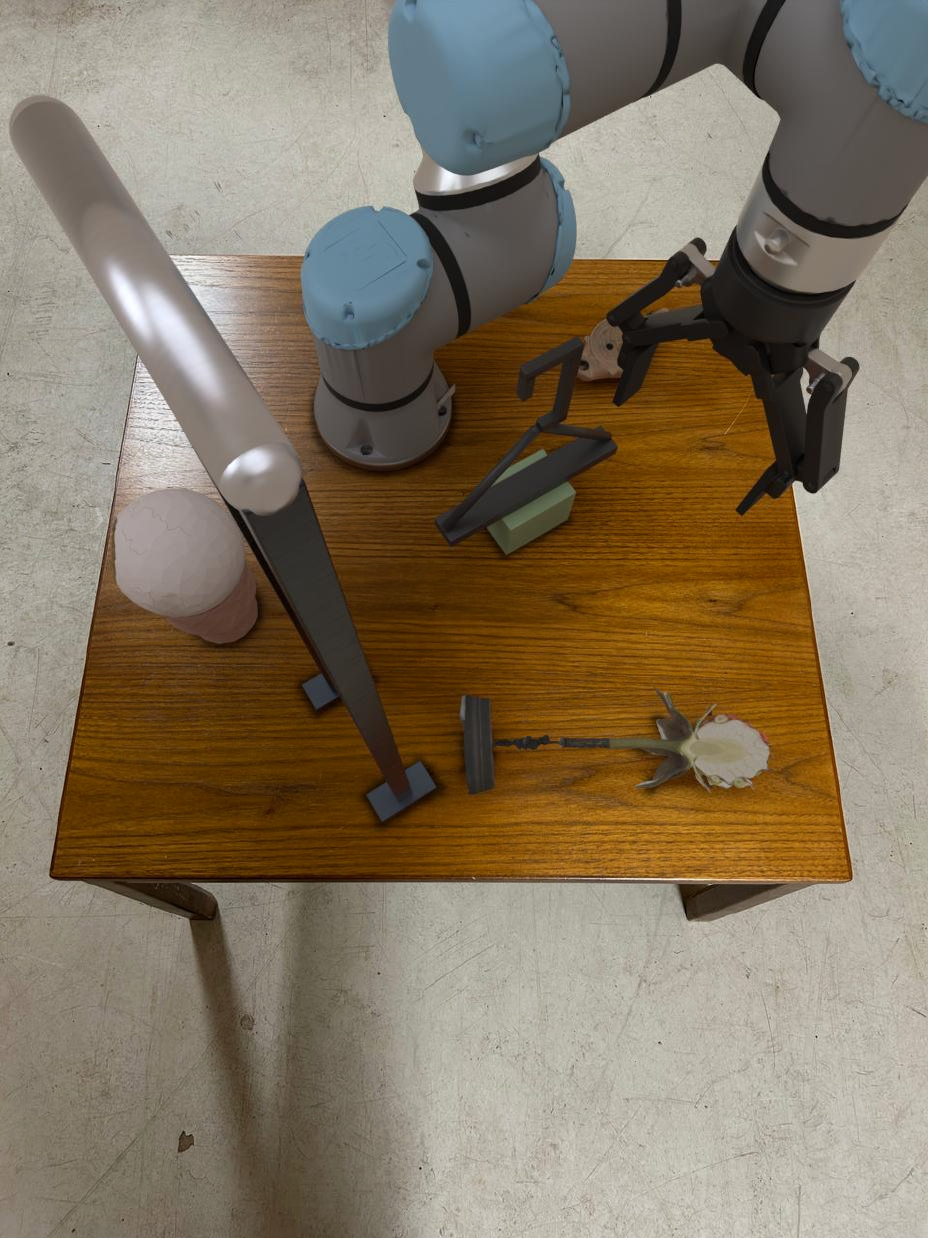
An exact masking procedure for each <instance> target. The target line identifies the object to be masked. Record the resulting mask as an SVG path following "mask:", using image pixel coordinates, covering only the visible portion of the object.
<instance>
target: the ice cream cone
mask: <svg viewBox="0 0 928 1238" xmlns="http://www.w3.org/2000/svg"><path fill="white" fill-rule="evenodd" d="M111 533H112V535H111V540H110V542H111V543H110V546H111V552H110V553H111V563H110V566H111V567H112V577H113V580H114V582H115V584H116V586H117V587H118V589H119V590H120V592H121V593H122V594H123V595H125V596H126V597H127V598H128V599H129V600H130V601H131V602H133V603H134V604H135V605H137V606H139V607H141V608H142V609H144V610H146V611H149V612H151V613H153V614H155V615H158V616H162V617H164V618H165V619H166V620H167V621H168V623H169V624H171V626H174V628H176V629H178V630H180V631H182V632H184V633H187V634H189V635H193V636H198V637H200V638H202V640H205V641H207V642H211V643H214V644H218V645H221V644H228V643H234V642H236V641H238V640H239V639H242V638H244V637H245V636H246V635H247V634H248V632H249V631H250V630H251V629H252V628H253V627H254V626H255V624H256V621H257V619H258V616H259V613H258V602H257V599H256V595H257V585H256V579H255V575H254V573H253V569H252V568H251V566H250V564H249V563H248V560H247V559H246V546H245V541H244V540H245V539H244V537H243V535H242V533H241V532H240V530H239V528H238V526H237V525H236V523H235V521H234V519H233V517H232V516H231V514H230V512H229V511H228V509H227V508H225V507H224V506H223V505H222V504H221V503H219V502H218V501H217V500H216V499H214V498H212V497H210V496H208V495H207V494H205V493H202V492H199V491H196V490H192V489H189V488H188V489H186V488H162V489H157V490H154V491H151V492H147V493H146V494H145V493H144V494H143V495H140V496H139V497H138V498H136V499H135V500H133V501H131V502H130V503H129V504H128V505H127V506H125V507H124V508H123V509H122V510H121V511H119V512H118V514H117V515H116V517H115V520H114V522H113V524H112V527H111Z"/></svg>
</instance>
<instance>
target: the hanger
mask: <svg viewBox="0 0 928 1238" xmlns="http://www.w3.org/2000/svg"><path fill="white" fill-rule="evenodd" d="M584 348H585V342H584V340H582V339H581V337H580V336H579V335H576V336H574V337H572V338H570V339H568V340H567V341H565V342H562V343H561V344H559V345H557V346H555V347H553V348H551V349H549V350H548V351H546V352H543V353H542V354H540V355H538V356H536V357H534V358H532V359H531V360H528V361H527V362H524V363H523V364H520V365H519V370H518V377H517V385H516V393H515V394H516V396H517V397H518V399H519V400H520V401H521V402H522V403H524V402H526V401H528V400H531V398H533V397H534V391H535V385H536V379H537V377H539V376H541V375H542V374H545V373H546V372H549V371H551V370H552V369H554V368H556V367H558V366H560V365H561V368H560V369H561V370H560V373H559V378H558V383H557V386H556V392H555V397H554V402H553V407H552V409H551V410H550V411H548V412H547V413H545V414H543V415H541V416H539V417H538V418H536V420H535V424H532V425H531V426H530V427H529V428H528V429H527V430H526V431H525V432H524V433H523V435H521V437H519V439H518V440H517V441H516V442H515V443H514V444H513V445H512V447H511V448H510V449H509V450H508V451H507V452H506V453H505V454H504V455H503V456H502V458H500V460H499V461H498V462H497V463H495V465H494V466H493V467H492V468H491V469H490V471H488V473H487V474H486V475H485V476H484V477H483V478H482V479H481V481H480V482H478V484H477V485H476V486H475V487H474V488H473V489H472V490H471V492H469V494H468V495H467V496H465V498H464V499H463V500H462V501H461V502H460V503H459V504H458V505H455V506H454V507H451V508H450V509H449V510H447V511H445V512H443V513H441V514H440V515H438V516H436V517H434V526H435V527H436V529H437V530H438V532H439V533H440V534H441V536H442V537H443V539H444V540H445V541H446V543H447V544H448V546H449V547H450V548H453V547H455V546H457V545H458V544H460V543H462V542H465V540H467V539H469V538H470V537H473V536H475V535H476V534H478V533H480V532H482V531H483V530H485V529H487V527H488V526H490V525H492V524H494V523H495V522H497V521H499V520H501V519H502V518H504V517H506V516H508V515H509V514H511V513H513V512H515V511H516V510H518V509H520V508H522V507H523V506H525V505H527V504H529V503H530V502H532V501H534V500H536V499H537V498H539V497H541V496H543V495H544V494H546V493H548V492H550V491H551V490H553V489H555V488H557V487H558V486H560V485H562V484H564V483H565V482H567V481H568V482H569V481H570V480H572V479H574V478H576V477H578V476H579V475H581V474H583V473H584V472H586V471H588V470H590V469H592V468H593V467H596V466H597V465H598V464H601V463H602V462H604V461H606V460H607V459H610V458H611V457H613V456H615V455H616V454H617V451H618V448H619V445H618V444H617V443H616V441H615V440H614V438H613V434H612V432H610V431H609V430H606V429H605V428H604V427H603V425H602V424H600V425H599V426H597V427H595V428H590V427H584V426H577V425H572V424H565V423H563V422H564V421H566V420H567V419H568V414H569V411H570V407H571V403H572V398H573V395H574V392H575V391H574V390H575V386H576V382H577V378H578V377H577V374H578V370H579V366H580V362H581V358H582V354H583V350H584ZM541 433H542V434H549V435H550V434H551V435H556V436H564V437H572V438H576V439H573V440H572V441H570V442H568V443H566V444H564V445H563V446H561V447H559V448H558V449H555V450H553V451H552V452H551V453H549V454H547V456H545V457H543V458H541V459H540V460H538V461H536V462H534V463H532V464H531V465H529V466H527V467H525V468H524V469H522V470H520V471H518V472H516V473H515V474H513V475H511V476H509V477H507V478H506V479H504V480H502V481H500V482H499V483H497V484H495V485H493V484H494V483H495V482H496V480H497V479H498V478H499V477H500V476H501V475H502V474H503V473H504V472H505V471H506V470H507V469H508V468H509V467H511V466H512V465H513V464H514V462H515V461H516V460H517V459H518V458H519V457H520V456H521V455H522V454H523V453H524V451H526V450H527V448H528V447H529V446H530V445H531V444H532V443H533V442H534V441H535V439H537V437H539V435H540V434H541ZM492 485H493V486H492Z"/></svg>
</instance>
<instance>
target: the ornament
mask: <svg viewBox="0 0 928 1238" xmlns="http://www.w3.org/2000/svg"><path fill="white" fill-rule="evenodd" d="M653 689H654V691H655V692H656V694H657V695H658V696H659V698H660V699H661V702H662V704H663V705H664V706H665V709H666V711H667V713H668V715H669V716H670V717H665V718H662V719H659V718H658V719H656V726H657V729H658V733H659V734H660V737H661V738H654V737H631V736H630V737H601V738H599V737H598V738H595V737H588V738H587V737H564V736H560V739H559V740H551V738H550V737H549V734H544V735H543V736H540V737H538V738H533V737H532V735H531V736H530V735H526V736H523V737H522V738H515V739H513V740H511V739H508V738H506V739H499V740H493V730H492V712H491V711H492V710H491V708H492V707H491V699H490V697H480V696H476V695H471V694H464V695H461V701H460V711H459V720H460V722H461V725H462V729H463V734H464V736H463V737H464V738H463V745H462V747H463V756H464V766H465V773H464V776H465V780H466V785H467V790H468V795H470V796H473V795H475V796H476V795H478V794H480V793H483V792H486V791H487V792H488V791H492V790H494V789H495V786H496V785H495V780H496V777H495V767H494V765H495V761H494V754H493V749H494V748H496V747H506V748H509V747H512V746H514V747H516V749H517V750H525V751H527V750H528V749H530V750H532V751H536V750H538V748H539V747H540V746H541V745H542V746H545V745H555V744H556V745H559V746H560V747H561V748H562V749H596V748H600V749H616V750H617V749H640V750H643V751H645V752H647V753H650V754H652V755H656V756H660V757H661V756H662V757H663V756H664V757H666V758H665V759H663V760H662V761H661V763H660V764H659V765H658V767H657V769H656V770H655V773H654V775H653V777H652V780H646V781H643V782H640V783H638V784H636V785H635V789H645V788H646V789H647V788H648V789H649V788H650V789H651V788H654V787H657V786H659V785H660V784H662V783H664V782H667V781H670V780H672V779H675V778H677V777H680V776H682V775H684V774H685V773H687V772H689V770H691V768H692V770H693V773H695V774H694V775H695V778H696V781H698V782H699V784H701V786H702V787H703V788H705V789H706V790H707V791H708V793H709V794H713V791H711V790H710V788H713V786H718V787H722V788H724V789H726V790H727V789H729V788H732V787H733V786H735V787H736V788H737V789H742V788H746V787H748V786H750V787H751V789H752V792H755V788H754V786H753V782H752V781H751V780H749V779H753V778H754V777H759V776H760V775H761V774H762V772H763V771H764V772H765V771H766V772H767V771H773V770H775V768H774V767H772V768H768V765H769V763H770V761H769V757H770V758H771V759H772V760H773V761H775V758H774V756H773V755H771V752H770V751H771V748H770V742H768V741H769V740H768V737H767V736H766V734H765V733H764V732H760V731H759V730H758V729H757V728H753V727H752V726H751V725H752V722H748V721H745V720H740V719H739V716H737V715H736V714H734V713H730V714H727V715H726V714H725V713H718V714H716V715H715V716H713V710H714V708H715V707H716V706H717V705H718V702H716V703H714V704H713V705H712V703H710V704H708V705H707V706H706V708H705V709H704V710H707V711H706V712H704V715H703V716H702V717H701V716H699V717H698V718H696V719H695V722H694V724H693V726H692V724H691V721H690V719H688V718H687V717H686V716H685V715H684V714H683V713H682V712H680V711H679V710H678V709H677V708H676V706H675V704H674V702H673V698H672V695H671V694H670V693H669V692H668V691H665V692H662V691H661V690H660V689H658V688H657V687H656V686H654V685H653ZM711 705H712V706H711ZM710 706H711V707H710ZM708 709H709V710H708ZM706 717H707V719H705V718H706ZM543 749H544V750H543V751H545V750H546V749H545V748H543ZM460 776H461V775H460ZM702 776H706V779H707V782H706V781H705V779H704V778H703V777H702Z"/></svg>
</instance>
